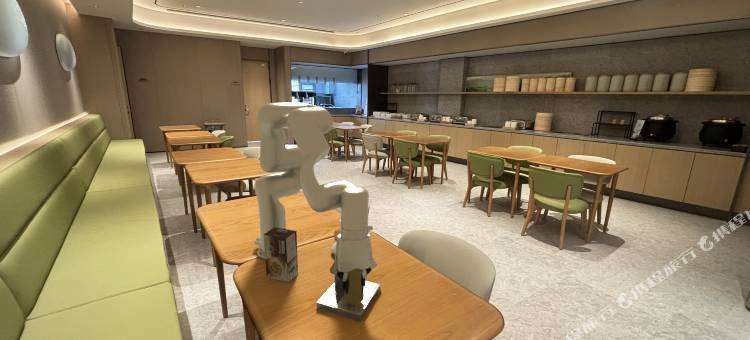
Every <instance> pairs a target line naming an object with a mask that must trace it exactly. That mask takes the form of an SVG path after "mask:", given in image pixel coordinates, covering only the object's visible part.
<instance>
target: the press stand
mask: <svg viewBox="0 0 750 340" xmlns="http://www.w3.org/2000/svg"><path fill="white" fill-rule="evenodd" d="M337 270H338V268H337ZM381 286H382V285H381V284H380V283H376V282H372V281H370V280H366V279H365V286H364V291H363V293H364V299H363V301H362V302H360V303H358V304H349V303H347V302H345V301H344V299H343V298H344V291H345V290H343V289H342V279H340V278H339V277H338V276H337V275H334V282H333V283H332V285H331V286H330V287H329V288H328V289H327V290H326V292H324V293H323V295H322V296H321V297H320V298H319V299H318V300H317V301H316V308H317V309H319V310H323V311H326V312H329V313H333V314H334V315H335V314H336V315H339V316H342V317H346V318H348V319H351V320H355V321H358V322H361V321H362V319H363V317H364V316H365V314H366V313H367V312H368V310H369V309H370V306H372V303H373V302H374V300H375V299H376V297H377V295H378V294H379V293H380V291H381Z"/></svg>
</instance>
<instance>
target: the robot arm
mask: <svg viewBox="0 0 750 340" xmlns="http://www.w3.org/2000/svg"><path fill="white" fill-rule="evenodd" d="M256 118H257V124H258V129H259V135H260V144H259V145H260V151H259V153H260V154H259V165H260V168H261V170H262V171H263V172H265V173H268V174H264V175H262V176H259V177H258V178H257V179H255V182H254V192H255V195H256V199H257V204H258V205H257V206H258V216H259V217H258V218H259V232H260V237H256V239H255V241H254V242H253V243H254V245H256V246H258V249H257V251H256V252H257V257H259V258H260V259H262V260H265V248H264V234H265V233H267V232H268V231H270V230H271V229H273V228H274V227H276V228H282V229H287V222H286V221H287V220H286V208H285V206H284V205H283V204H282V202H281V201H280V199H281V198H285V197H289V196H293V195H296V194H298V193H299V192H300V191H301V190H302V192H303V195H304V198H305V200H306V202H307V203H308V205H309V207H310V208H311V209H312V210H313V211H314V212H317V213H326V212H329V211H332V210H333V211H334V210H336V209H340V219H341V223H340V228H341V234H339V235H338V237H337V242H336V241H335V243H336V251H335V254H334V261H333V264H332V265H331V267H330V268H329V272H330V274H332V275H334V276H335V275H337V276H338V277H339V278H340V279H342V289H343V290H345V293H346V294H348V288H349V282H348V280H347V276H348V272H349V271H352V270H353V269H357V268H359V269H361V270H362V269H363V273H362V275H361V278H362V279H361V283H362V291H364V286H365V280H366V279H367V277H368V276H369V274H370V273H371V271H372V270H375V268H376V267H378V264H377V262H376V261H375V259H374V258H373V246H372V240H371V236H370V233H369V232H371V231H373V229H374V228H373V225H369V204H370V203H369V202H370V201H369V200H370V199H369V197H370V195H369V194H370V193H369V192H368V190H367V189H366V188H365V187H361V186H356V185H355V184H354V183H352V182H351V181H350V180H346V179H343V180H338V181H331V182H328V183H322V184H319V182H318V179H317V177H316V175H315V169H314V167H315V165H316V164H317V163H319V162H320V161H321V160H324V159H325V158H326V157H327V156H328V154H329V153H330V151H331V150H330V149H331V147H330V145H329V143H328V141H327V139H326V136H325V135H324V134H327V133H329V132H331V131H332V129H333V124H334V120H333V117H332V115H331V113H330V112H329V111H328V110H327V109H326V108H324V107H322V106H318V105H314V104H310V103H307V102H270V103H264V104H262V105H260V107H259V109H258V111H257V117H256ZM284 129H289V131H290V133H291V134H292V137H293V139H294V140H295V143H296V145H295V144H286V142H287V136H286V133H285V130H284ZM337 268H338V270H337Z"/></svg>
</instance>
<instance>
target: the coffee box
mask: <svg viewBox="0 0 750 340" xmlns="http://www.w3.org/2000/svg"><path fill="white" fill-rule="evenodd" d="M297 233H298V232H297V230H293V229H288V228H286V229H282V228H276V227H274V228H273V229H271V230H270V231H268V232H267V233H265V234H264V248H265V259H264V261H265V271H266V272H265V273H266V275H265V276H266V278H269V279H273V280H278V281H282V282H286V283H290V281H292V280H293V279H294V278H295V277H296V276H297V275H299V263H298V237H297V236H298V235H297Z"/></svg>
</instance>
